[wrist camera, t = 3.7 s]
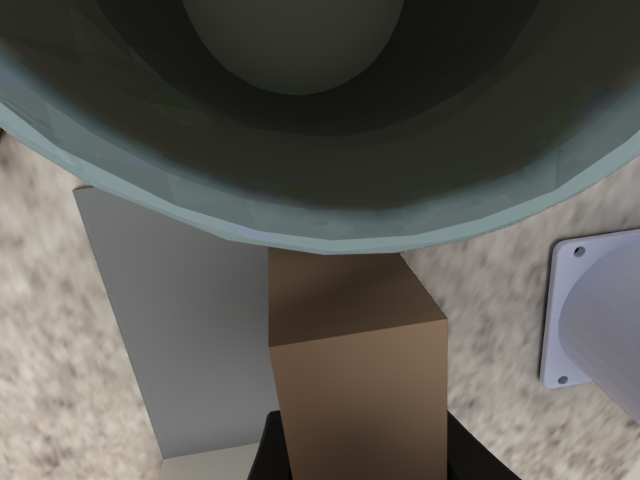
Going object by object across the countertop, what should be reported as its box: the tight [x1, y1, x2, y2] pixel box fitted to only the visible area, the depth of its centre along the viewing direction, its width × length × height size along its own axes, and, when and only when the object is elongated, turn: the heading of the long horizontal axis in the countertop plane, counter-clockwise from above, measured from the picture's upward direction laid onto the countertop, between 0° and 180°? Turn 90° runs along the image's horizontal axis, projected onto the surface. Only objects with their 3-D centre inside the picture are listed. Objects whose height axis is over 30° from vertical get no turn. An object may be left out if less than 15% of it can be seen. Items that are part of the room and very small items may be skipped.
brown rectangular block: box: [268, 246, 448, 480], centre depth 11 cm, size 3×10×5 cm, turn 6°
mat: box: [72, 186, 280, 459], centre depth 20 cm, size 12×21×1 cm, turn 6°
